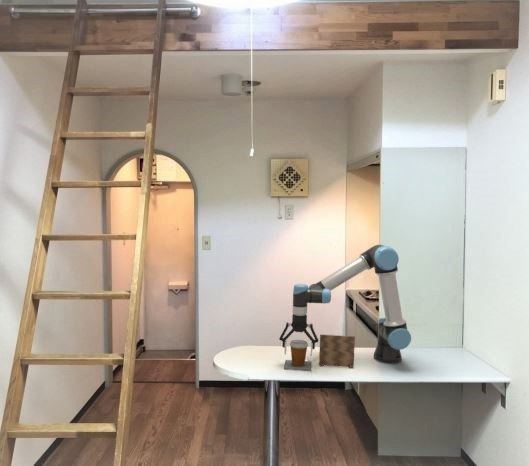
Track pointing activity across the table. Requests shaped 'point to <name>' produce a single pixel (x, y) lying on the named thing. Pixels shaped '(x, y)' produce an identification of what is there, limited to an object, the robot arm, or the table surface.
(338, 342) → the screen
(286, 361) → the mat
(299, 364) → the disposable coffee cup
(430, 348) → the table surface
